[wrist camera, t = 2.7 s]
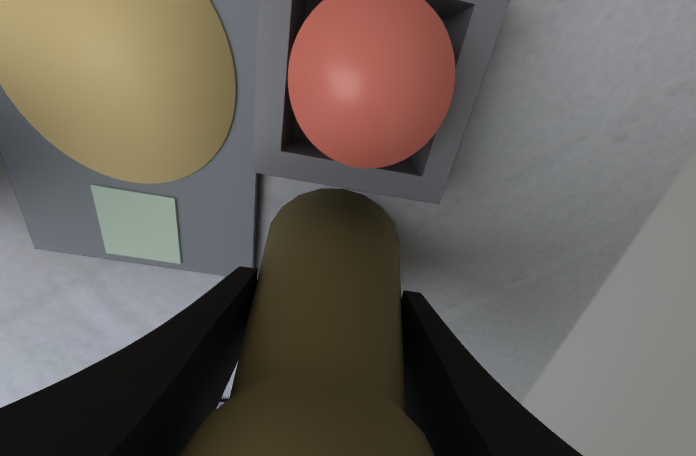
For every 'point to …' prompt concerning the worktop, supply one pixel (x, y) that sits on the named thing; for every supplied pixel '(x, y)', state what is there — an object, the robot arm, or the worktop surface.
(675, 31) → the worktop surface
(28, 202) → the grey kitchen scale
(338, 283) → the olive knobbed peg
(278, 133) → the button housing
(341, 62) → the button
